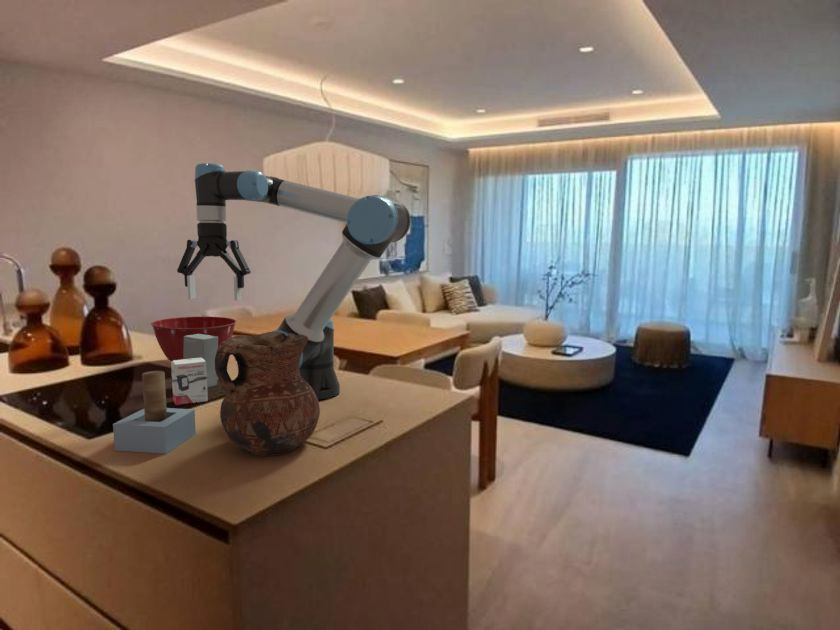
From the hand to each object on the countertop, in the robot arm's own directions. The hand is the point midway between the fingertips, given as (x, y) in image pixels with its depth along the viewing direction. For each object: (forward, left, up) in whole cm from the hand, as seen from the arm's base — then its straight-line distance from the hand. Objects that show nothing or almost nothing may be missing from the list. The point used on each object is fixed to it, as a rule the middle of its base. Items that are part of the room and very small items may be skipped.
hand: (214, 299), depth 153 cm
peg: (-2, +33, -29) cm, 44 cm away
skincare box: (+12, -12, -29) cm, 33 cm away
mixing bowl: (+29, -39, -29) cm, 57 cm away
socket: (-2, +33, -29) cm, 44 cm away
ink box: (+7, +3, -29) cm, 30 cm away
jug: (-28, +31, -29) cm, 51 cm away
